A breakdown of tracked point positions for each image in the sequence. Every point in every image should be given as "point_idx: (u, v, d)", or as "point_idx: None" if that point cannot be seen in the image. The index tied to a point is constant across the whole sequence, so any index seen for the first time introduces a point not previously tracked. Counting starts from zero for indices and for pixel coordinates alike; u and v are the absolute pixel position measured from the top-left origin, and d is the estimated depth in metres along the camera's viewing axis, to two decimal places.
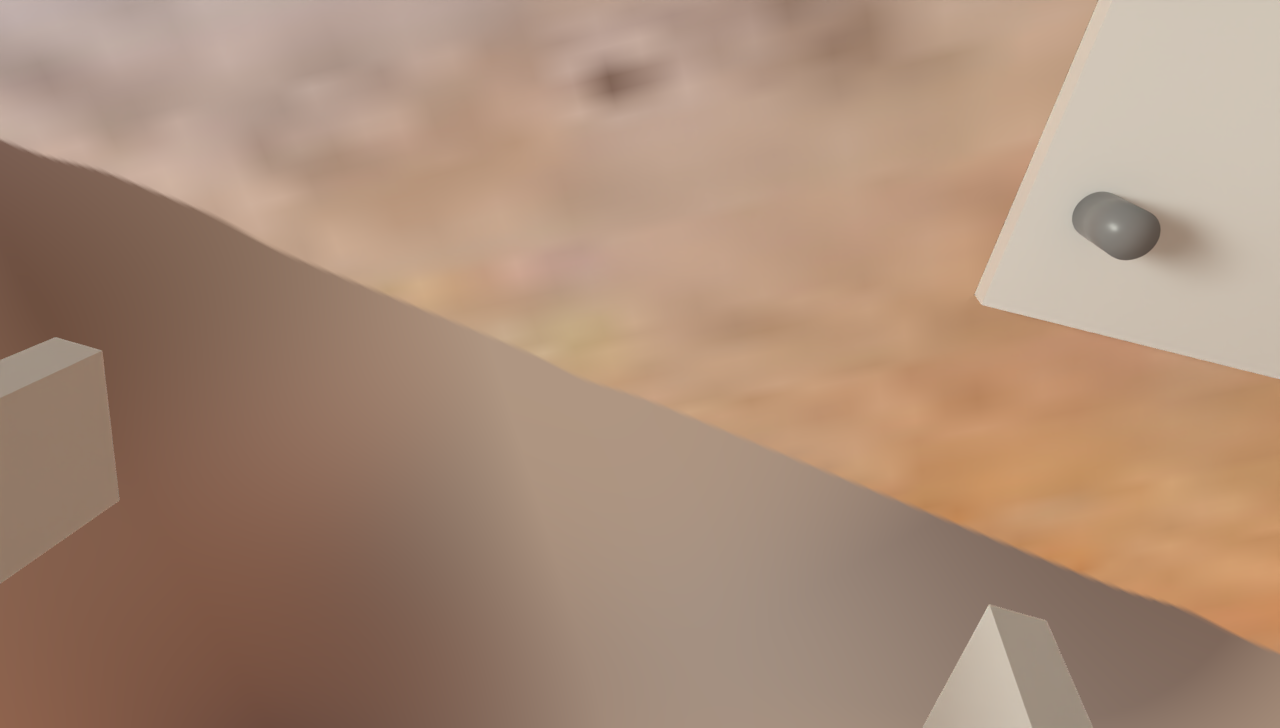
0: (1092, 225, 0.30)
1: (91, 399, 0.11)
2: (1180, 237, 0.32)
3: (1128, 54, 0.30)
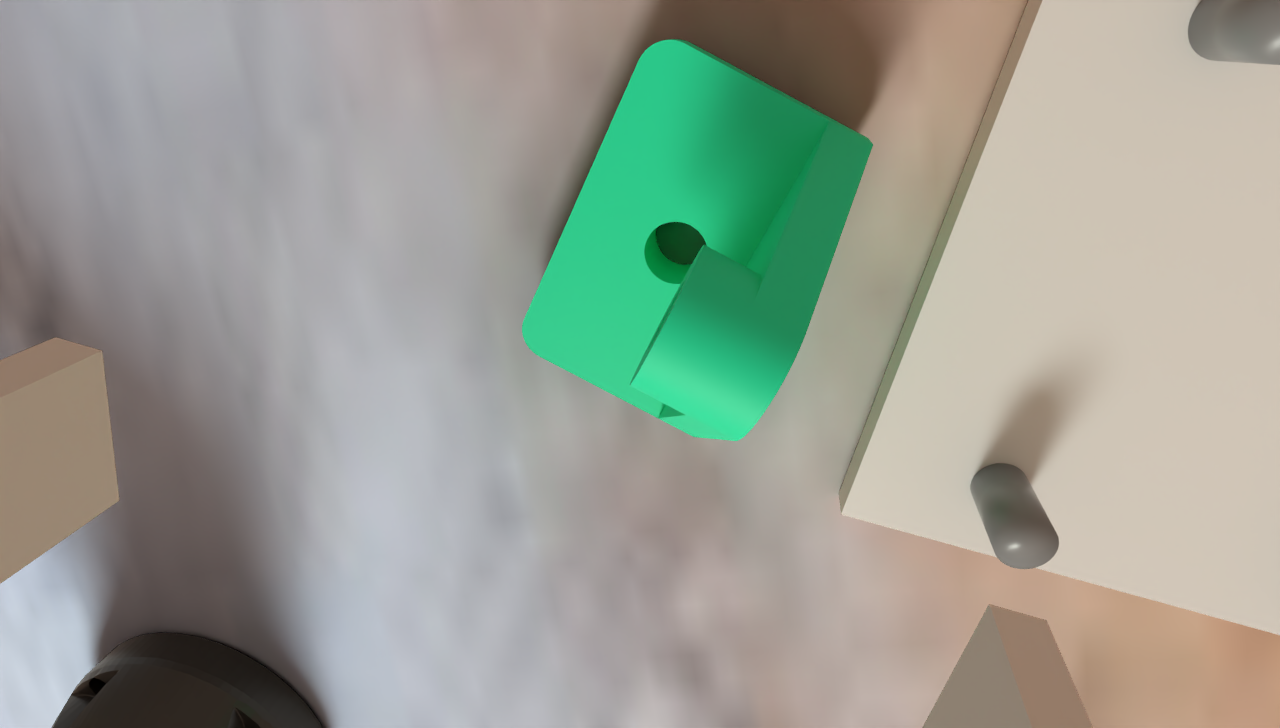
0: None
1: (91, 399, 0.11)
2: None
3: (1138, 562, 0.28)
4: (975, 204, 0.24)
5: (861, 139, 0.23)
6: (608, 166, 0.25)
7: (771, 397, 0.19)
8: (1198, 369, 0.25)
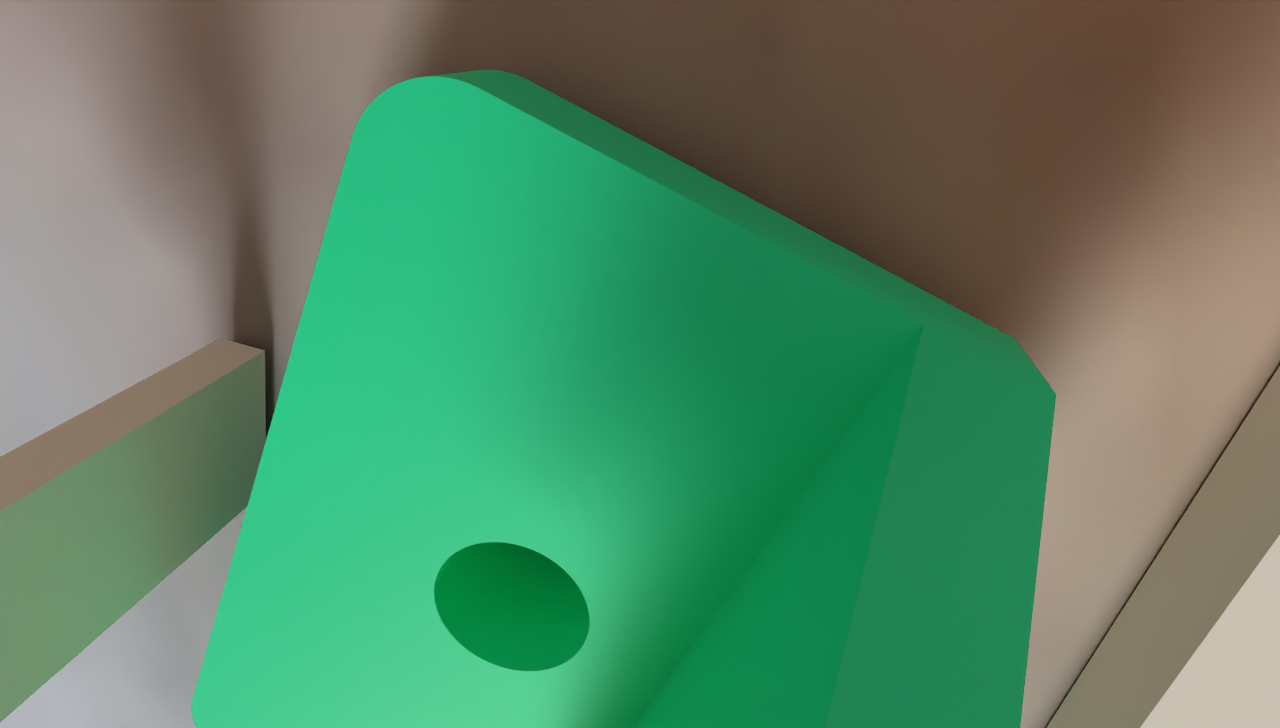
0: None
1: (254, 395, 0.12)
2: None
3: None
4: None
5: (1020, 378, 0.08)
6: (318, 405, 0.09)
7: None
8: None
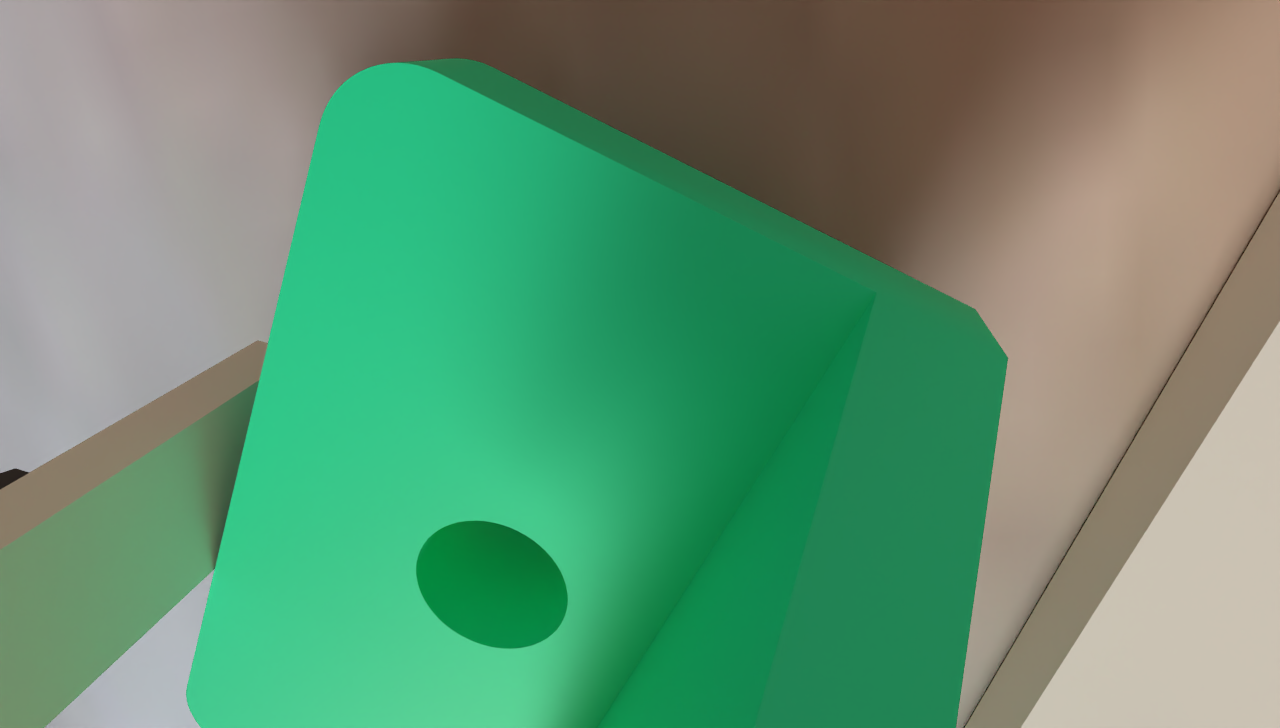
0: None
1: None
2: None
3: None
4: (1249, 419, 0.11)
5: (973, 343, 0.08)
6: (297, 389, 0.10)
7: None
8: None
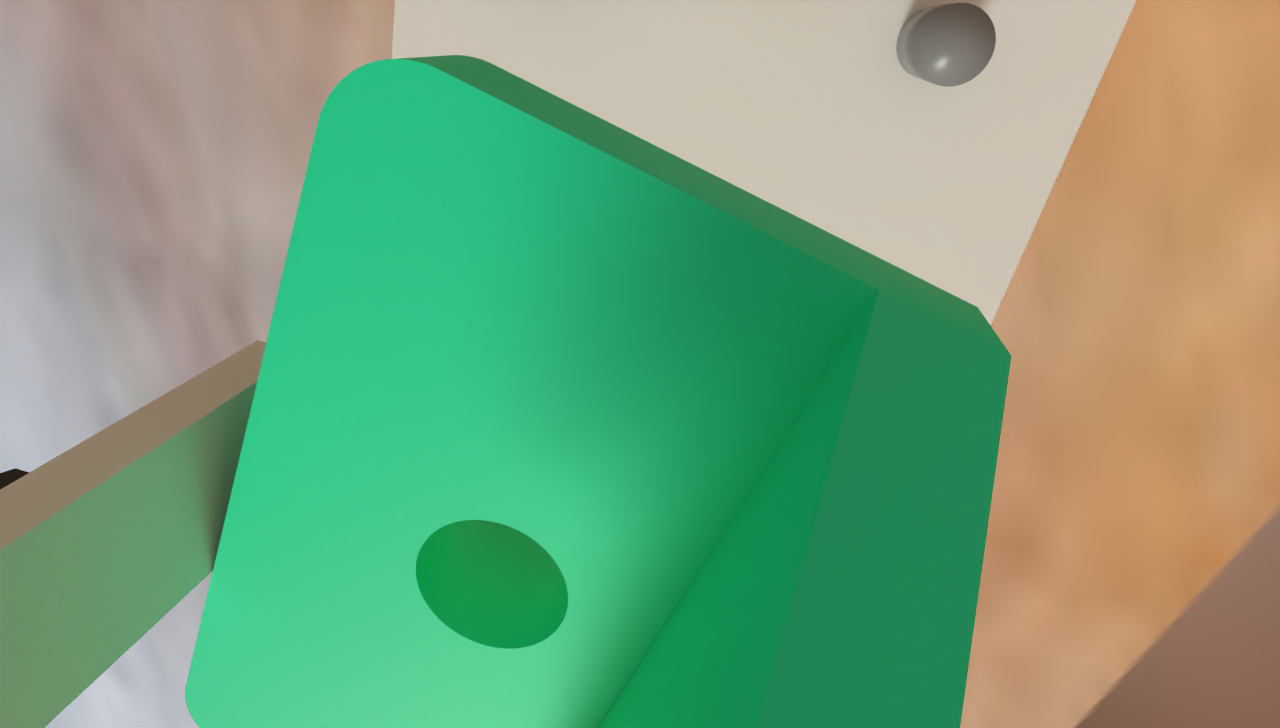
0: None
1: None
2: None
3: None
4: None
5: (976, 341, 0.08)
6: (297, 387, 0.10)
7: None
8: None
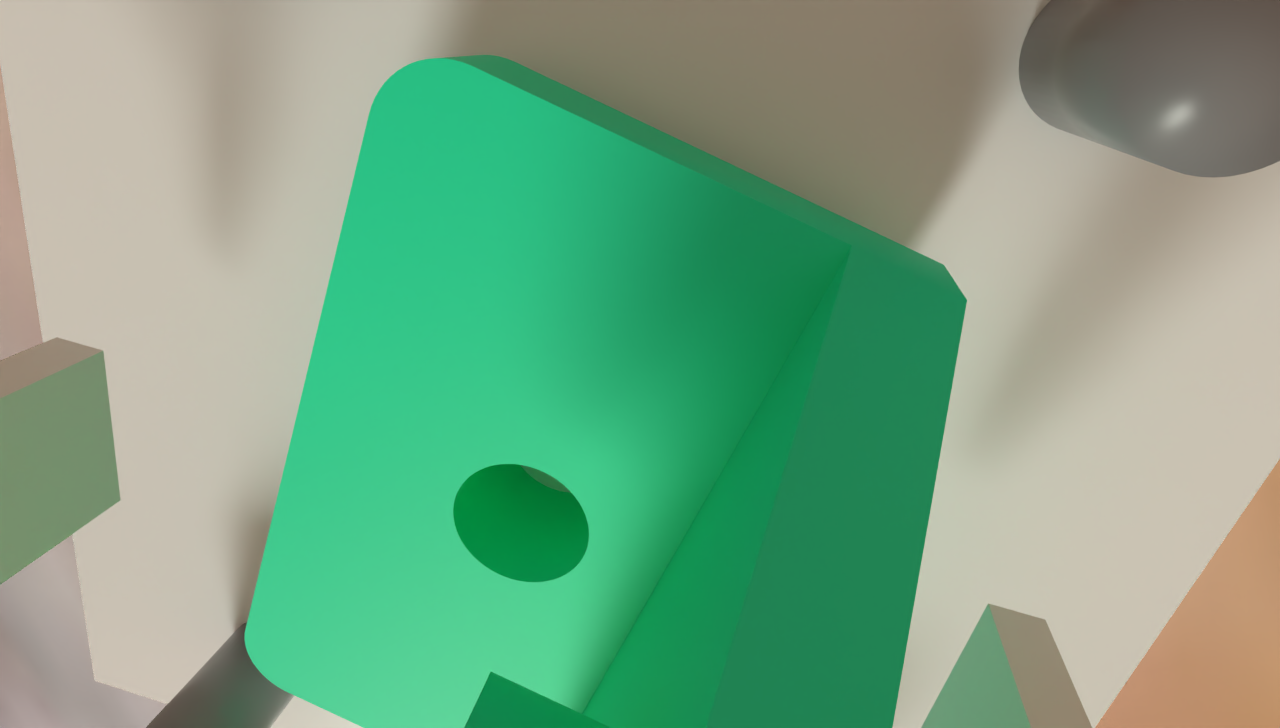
0: None
1: (92, 399, 0.11)
2: None
3: None
4: (40, 212, 0.14)
5: (936, 287, 0.09)
6: (348, 349, 0.11)
7: None
8: None
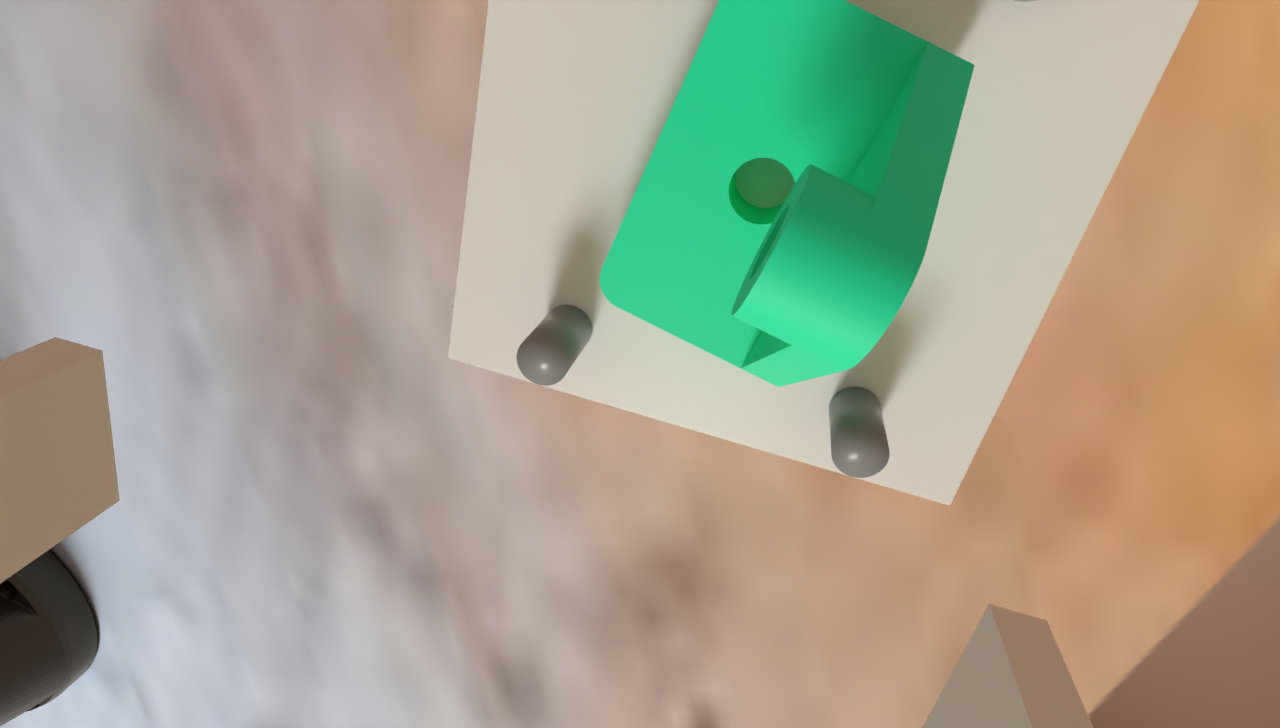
0: None
1: (91, 399, 0.11)
2: (888, 331, 0.28)
3: (696, 400, 0.31)
4: (493, 54, 0.27)
5: (962, 59, 0.22)
6: (692, 101, 0.24)
7: (892, 316, 0.18)
8: None
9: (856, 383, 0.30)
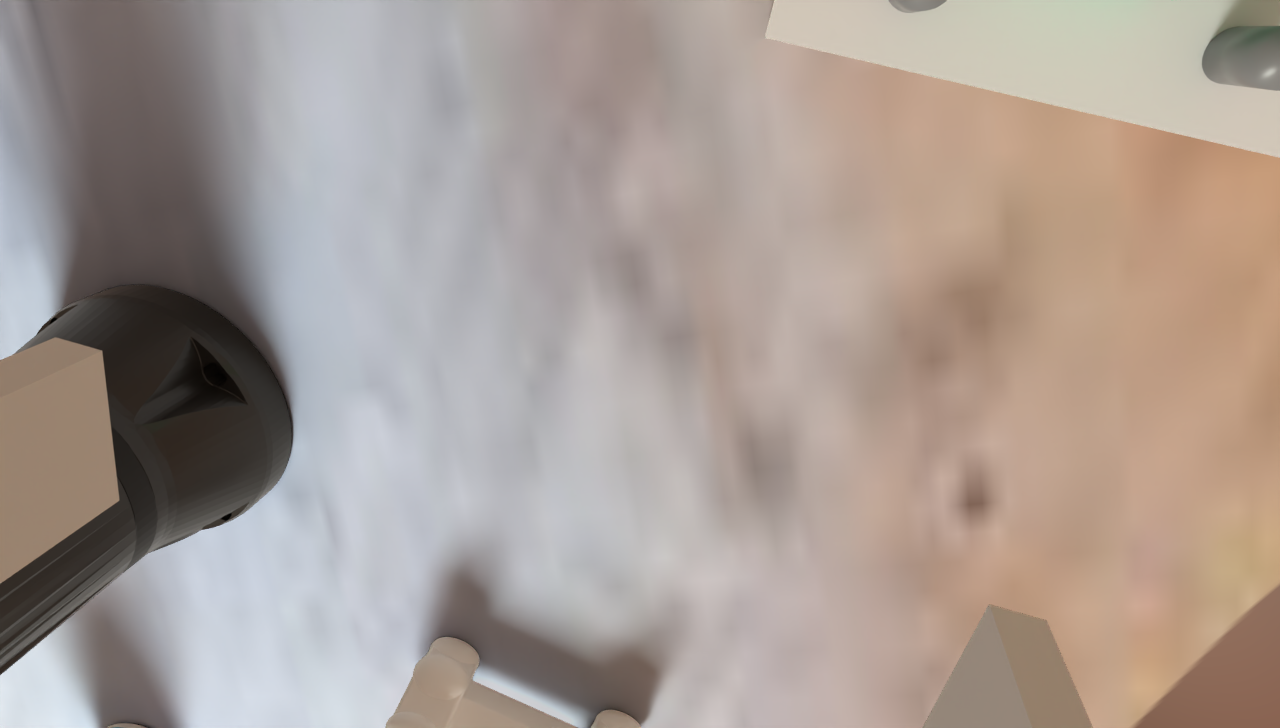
0: None
1: (91, 399, 0.11)
2: None
3: (1047, 62, 0.29)
4: None
5: None
6: None
7: None
8: None
9: (1240, 21, 0.28)
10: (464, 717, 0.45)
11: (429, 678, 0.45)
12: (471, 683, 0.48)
